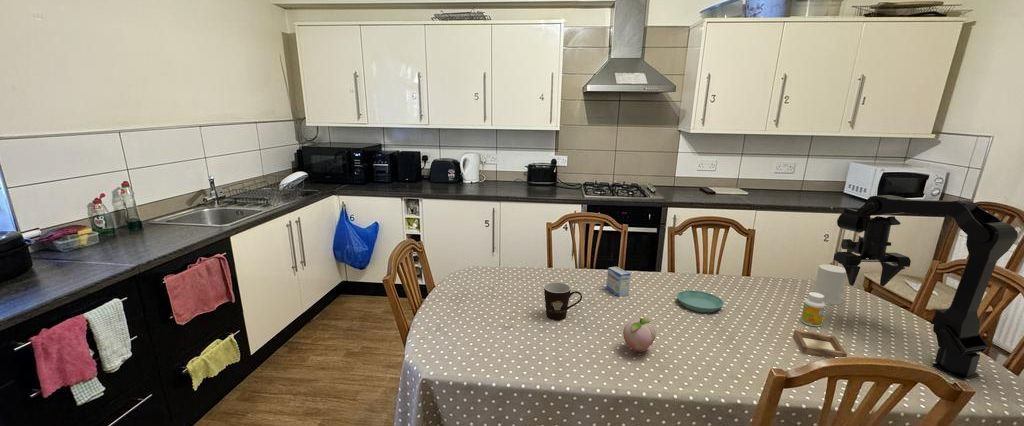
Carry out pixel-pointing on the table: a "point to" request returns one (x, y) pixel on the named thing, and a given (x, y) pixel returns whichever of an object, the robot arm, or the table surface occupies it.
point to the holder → (819, 344)
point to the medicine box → (618, 281)
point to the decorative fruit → (639, 334)
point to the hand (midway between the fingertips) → (866, 285)
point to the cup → (830, 283)
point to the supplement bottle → (813, 309)
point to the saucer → (700, 301)
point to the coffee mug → (558, 300)
